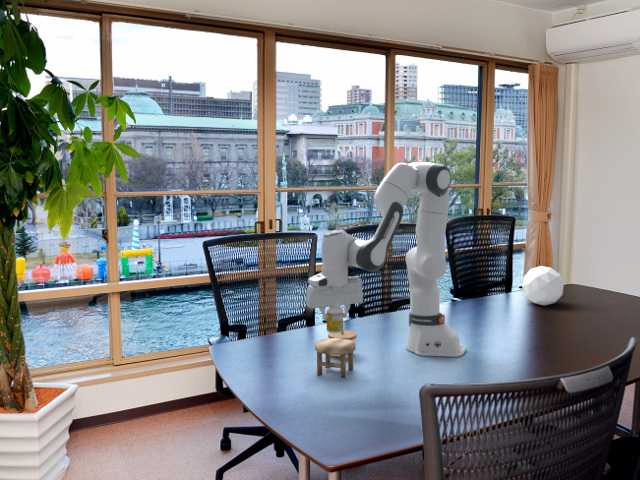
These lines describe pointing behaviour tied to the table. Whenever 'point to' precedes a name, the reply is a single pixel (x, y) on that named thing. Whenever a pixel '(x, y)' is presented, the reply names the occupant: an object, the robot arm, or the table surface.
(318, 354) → the stool
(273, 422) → the table surface
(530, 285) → the geometric polyhedron
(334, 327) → the supplement bottle
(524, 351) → the table surface
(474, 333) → the table surface
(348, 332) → the lidded jar
